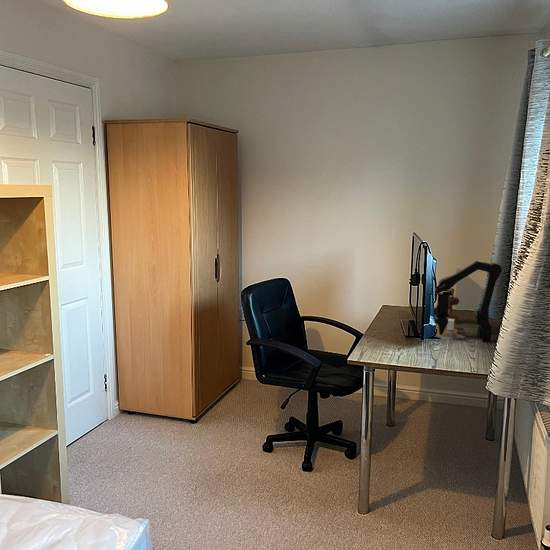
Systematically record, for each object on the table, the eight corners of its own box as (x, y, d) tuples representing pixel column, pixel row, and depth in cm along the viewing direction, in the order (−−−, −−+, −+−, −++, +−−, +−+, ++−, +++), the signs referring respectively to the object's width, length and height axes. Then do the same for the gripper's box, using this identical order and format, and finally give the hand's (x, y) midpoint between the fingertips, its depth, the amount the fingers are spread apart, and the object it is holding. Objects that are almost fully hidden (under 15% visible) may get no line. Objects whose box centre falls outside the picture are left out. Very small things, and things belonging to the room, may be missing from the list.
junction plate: (466, 339, 284) (466, 330, 284) (444, 341, 279) (444, 332, 278) (447, 332, 297) (448, 324, 296) (426, 334, 291) (426, 326, 291)
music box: (458, 325, 316) (457, 290, 313) (438, 324, 320) (437, 289, 318) (460, 319, 330) (460, 286, 327) (441, 319, 334) (440, 286, 332)
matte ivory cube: (453, 329, 304) (454, 319, 303) (453, 332, 299) (454, 321, 298) (443, 328, 306) (444, 318, 305) (442, 331, 301) (443, 320, 300)
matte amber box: (446, 333, 290) (447, 322, 289) (446, 336, 285) (447, 324, 284) (435, 332, 292) (436, 321, 291) (435, 335, 287) (436, 323, 286)
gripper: (428, 299, 297) (426, 327, 299) (425, 305, 280) (423, 335, 282) (449, 300, 294) (447, 329, 296) (449, 307, 276) (446, 338, 278)
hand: (441, 333), depth 288 cm, fingers closed on matte amber box, 5 cm apart
